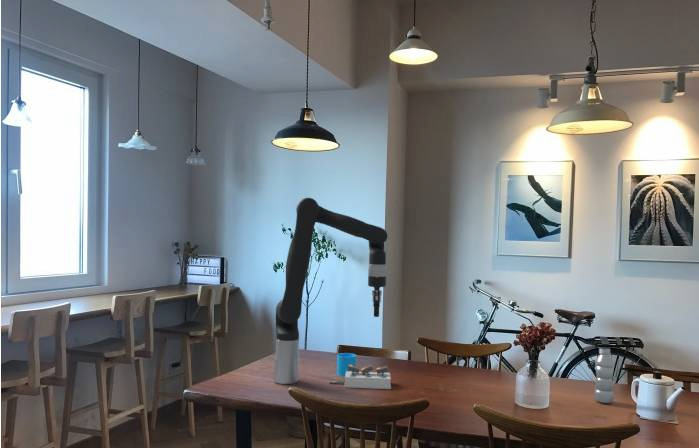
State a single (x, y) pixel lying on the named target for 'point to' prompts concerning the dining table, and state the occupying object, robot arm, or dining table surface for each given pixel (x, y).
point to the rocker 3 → (382, 369)
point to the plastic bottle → (604, 376)
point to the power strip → (366, 380)
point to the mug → (345, 362)
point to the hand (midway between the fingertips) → (376, 316)
